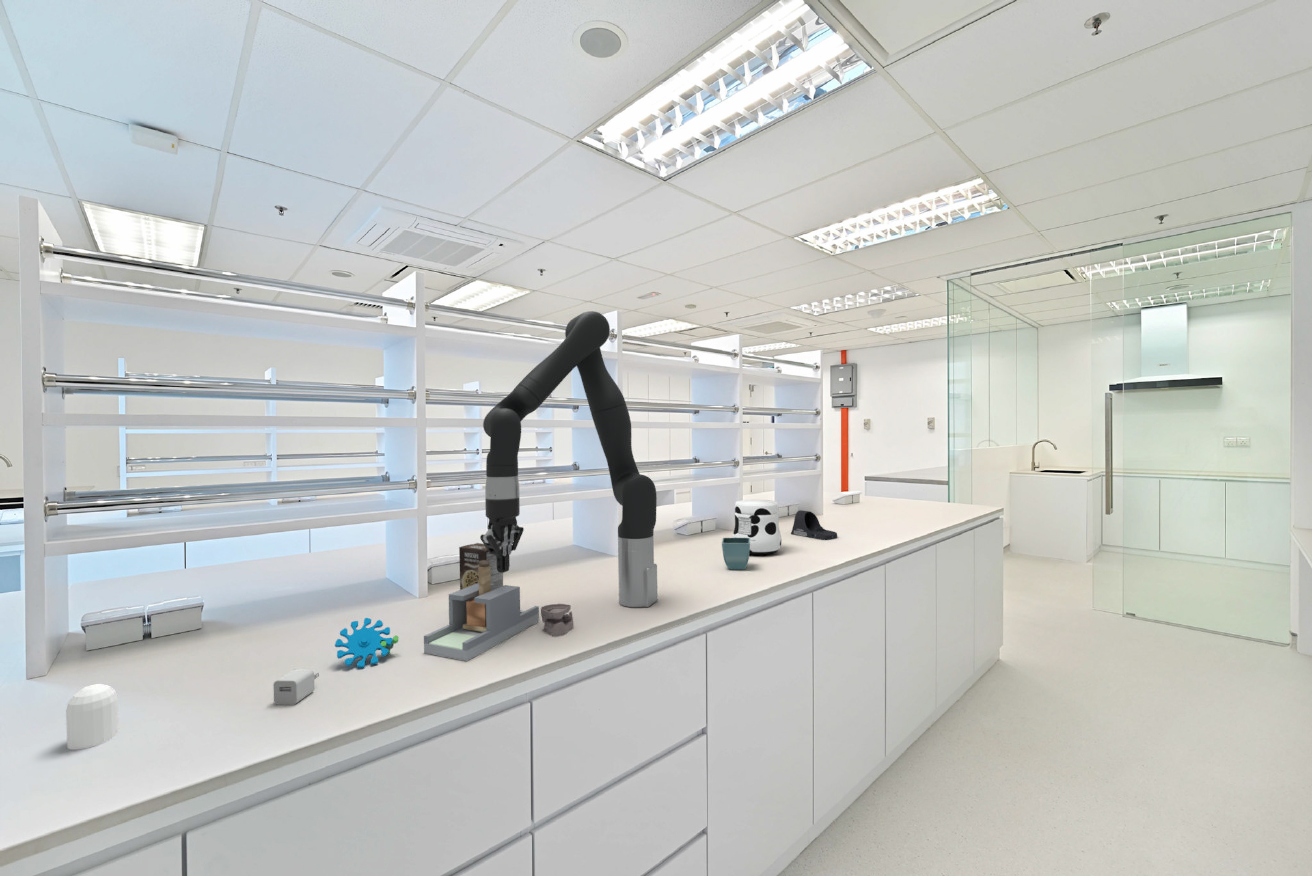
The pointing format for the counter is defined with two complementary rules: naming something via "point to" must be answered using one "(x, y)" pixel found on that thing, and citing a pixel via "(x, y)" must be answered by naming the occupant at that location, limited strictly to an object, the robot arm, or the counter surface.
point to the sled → (478, 610)
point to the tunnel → (499, 622)
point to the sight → (810, 527)
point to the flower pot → (736, 552)
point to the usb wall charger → (294, 686)
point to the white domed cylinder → (92, 717)
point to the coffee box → (477, 565)
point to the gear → (365, 642)
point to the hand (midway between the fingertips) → (503, 571)
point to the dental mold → (557, 619)
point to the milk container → (758, 525)
